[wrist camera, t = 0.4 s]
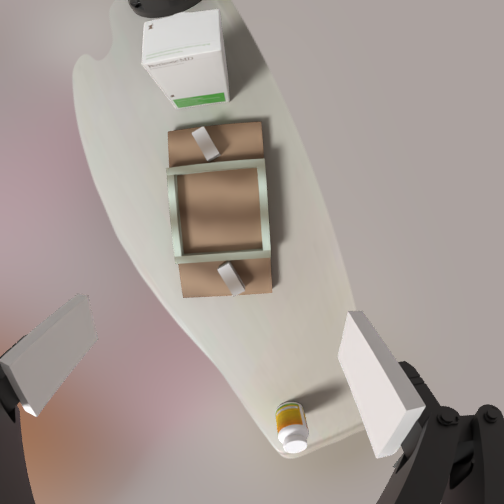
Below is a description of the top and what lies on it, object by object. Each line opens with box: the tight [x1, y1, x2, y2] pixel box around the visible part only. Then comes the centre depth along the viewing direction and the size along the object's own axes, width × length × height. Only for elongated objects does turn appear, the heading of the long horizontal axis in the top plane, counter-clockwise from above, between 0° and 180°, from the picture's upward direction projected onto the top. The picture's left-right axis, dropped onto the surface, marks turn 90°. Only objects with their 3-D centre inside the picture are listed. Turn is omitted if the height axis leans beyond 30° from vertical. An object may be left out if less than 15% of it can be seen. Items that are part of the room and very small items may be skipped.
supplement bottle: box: [276, 402, 309, 453], centre depth 41 cm, size 5×5×10 cm
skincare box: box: [142, 9, 230, 109], centre depth 27 cm, size 8×7×16 cm
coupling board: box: [166, 122, 272, 298], centre depth 37 cm, size 24×13×3 cm, turn 4°
